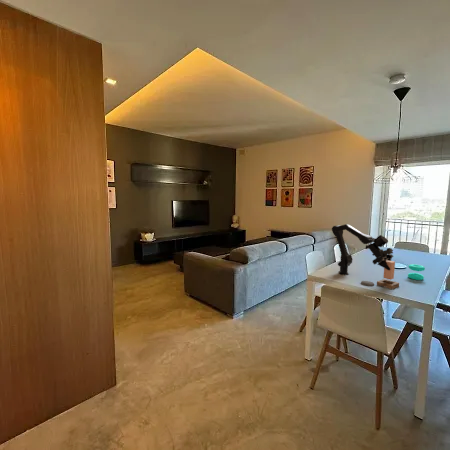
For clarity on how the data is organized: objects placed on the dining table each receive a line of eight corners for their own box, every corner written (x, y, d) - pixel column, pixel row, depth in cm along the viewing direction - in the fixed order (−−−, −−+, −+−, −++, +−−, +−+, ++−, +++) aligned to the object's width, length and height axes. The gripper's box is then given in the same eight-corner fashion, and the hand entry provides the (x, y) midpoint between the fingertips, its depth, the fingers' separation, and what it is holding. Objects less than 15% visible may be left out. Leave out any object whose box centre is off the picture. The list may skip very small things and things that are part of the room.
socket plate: (376, 284, 182) (377, 281, 182) (383, 282, 188) (384, 278, 188) (392, 289, 174) (392, 285, 174) (399, 286, 180) (399, 282, 179)
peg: (383, 277, 181) (384, 261, 179) (386, 276, 183) (388, 260, 182) (390, 279, 177) (392, 262, 176) (393, 278, 180) (395, 261, 178)
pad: (359, 281, 189) (359, 280, 189) (372, 282, 187) (372, 281, 187) (362, 285, 181) (362, 284, 181) (375, 286, 179) (375, 285, 179)
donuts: (424, 268, 189) (408, 265, 195) (423, 281, 190) (406, 278, 197) (425, 265, 197) (409, 263, 203) (424, 278, 198) (408, 275, 204)
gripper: (378, 245, 176) (394, 265, 168) (391, 242, 186) (407, 261, 178) (365, 254, 183) (381, 273, 175) (379, 251, 193) (394, 269, 186)
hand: (391, 269), depth 178 cm, fingers closed on peg, 5 cm apart
